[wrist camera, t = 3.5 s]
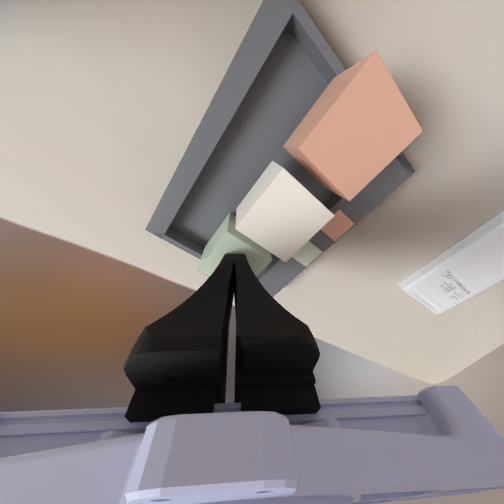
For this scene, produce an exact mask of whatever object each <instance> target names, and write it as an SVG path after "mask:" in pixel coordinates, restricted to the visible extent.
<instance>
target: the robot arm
mask: <svg viewBox="0 0 504 504" xmlns="http://www.w3.org/2000/svg"><path fill="white" fill-rule="evenodd" d="M233 296H234V297H235V312H236V362H235V401H234V403H225V397H226V375H227V356H228V336H229V323H230V316H231V309H232V303H233ZM319 356H320V352H319V349H318V346H317V343H316V341H315V339H314V337H313V335H312V333H311V331H310V329H309V327H308V326H307V325H306V324H304V323H303V322H302V321H300V320H299V319H297V318H296V317H294V316H293V315H292V314H290V313H289V312H288V311H287V310H285V309H284V308H283V307H282V306H281V305H280V304H279V303H278V302H277V301H276V300H275V299H274V298H273V297H272V296H271V295H270V294H269V293H268V292H267V291H266V289H265V288H264V287H263V286H262V284H261V283H260V281H259V280H258V279H257V277H256V276H255V274H254V272H253V270H252V269H251V267H250V265H249V263H248V261H247V258H246V255H245V254H225V255H224V256H223V258H222V260H221V261H220V263H219V265H218V266H217V268H216V269H215V270H214V272H213V273H212V274H211V276H210V277H209V278H208V279H207V280H206V282H205V283H204V284H203V285H202V286H201V287H200V288H199V289H198V290H197V291H196V292H195V293H194V294H193V295H192V296H190V297H189V298H188V299H187V300H186V301H185V302H183V303H182V304H181V305H179V306H178V307H177V308H176V309H174V310H173V311H171V312H170V313H168V314H167V315H165V316H164V317H162V318H160V319H159V320H157V321H155V322H154V323H152V324H150V325H148V326H147V327H145V329H144V330H143V332H142V333H141V335H140V336H139V338H138V339H137V341H136V343H135V344H134V346H133V348H132V350H131V352H130V354H129V356H128V358H127V360H126V362H125V364H124V371H125V373H126V376H127V377H128V379H129V380H130V382H131V383H132V385H133V386H134V388H135V389H136V390H135V392H134V395H133V397H132V399H131V402H130V404H129V407H122V408H100V409H99V408H98V409H76V410H50V411H25V412H1V411H0V504H375V503H383V502H393V501H403V500H411V499H422V498H431V497H441V496H451V495H461V494H472V493H481V492H488V491H493V490H500V489H504V439H503V437H502V436H501V435H500V434H499V433H498V432H497V431H496V430H495V428H494V427H493V426H492V425H491V424H490V423H489V422H488V420H487V419H486V418H485V417H484V416H483V415H482V413H481V412H480V411H479V410H478V409H477V408H476V407H475V405H474V404H473V403H472V402H471V401H470V400H469V399H468V397H467V396H466V395H465V394H464V393H463V392H462V391H461V390H460V389H459V387H458V386H455V385H453V386H432V387H427V388H425V389H423V390H421V391H420V392H419V393H418V394H417V395H413V396H389V397H366V398H340V399H318V396H317V393H316V389H315V386H314V384H315V377H314V374H313V369H314V367H315V365H316V363H317V361H318V359H319Z"/></svg>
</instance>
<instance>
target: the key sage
mask: <svg viewBox="0 0 504 504" xmlns="http://www.w3.org/2000/svg"><path fill="white" fill-rule="evenodd" d="M235 225H236V217H235V216H234V215H233V214H231V213H229V214H228V216H227V217H226V218H225V220H224V221H223V222H222V224H221V225H220V227H219V228H218V229H217V231H216V232H215V233H214V235H213V236H212V237H211V239H210V240H209V242H208V243H207V244H206V246H205V248H204V251H203V254H202V257H201V260H200V263H199V266H198V269H197V271H199V272H201V273H203V274H205V275H207V276H209V277H210V276H211V274H212V273H213V272H214V270H215V269H216V268H217V266H218V265H219V263H220V261H221V260H222V258H223V256H224V255H225V254H245V255H246V258H247V261H248V263H249V265H250V267H251V269H252V270H253V272H254V274H255V276H256V277H257V276H258V275H259V274H260V273H261V272H262V271H263V270H264V269H265V268H266V267H267V265H268V264H269V263H270V262H271V261H272V257H271V253H270V252H269V251H268V250H266V249H265V248H263V247H262V246H260V245H259V244H257V243H256V242H254V241H253V240H251V239H250V238H248V237H247V236H245V235H244V234H242V233H241V232H239V231H237V230H236V229H235Z"/></svg>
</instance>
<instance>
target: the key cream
mask: <svg viewBox="0 0 504 504" xmlns="http://www.w3.org/2000/svg"><path fill="white" fill-rule="evenodd" d="M334 216H335V215H334V214H332V213H331V212H330V211H329V210H328V209H327V208H326V207H325V206H324V205H323V204H322V203H321V202H320V201H318V200H317V199H316V198H315V197H314V196H313V195H312V194H311V193H310V192H309V191H308V190H307V189H306V188H304V187H303V186H302V185H301V184H300V183H299V182H298V181H297V180H296V179H295V178H294V177H293V176H292V175H291V174H289V173H288V172H287V171H286V170H285V169H284V168H283V167H281V166H280V165H278V164H277V163H275V162H274V161H272V162H271V163H270V164H269V166H268V167H267V168H266V170H265V171H264V172H263V174H262V175H261V176H260V178H259V179H258V180H257V182H256V183H255V184H254V186H253V187H252V188H251V190H250V191H249V192H248V194H247V195H246V196H245V198H244V199H243V200H242V202H241V203H240V204H239V206H238V207H237V209H236V225H235V229H236V230H237V231H239V232H241V233H242V234H244V235H245V236H247V237H248V238H250V239H251V240H253V241H254V242H256V243H257V244H259V245H260V246H262V247H263V248H265V249H266V250H268V251H269V252H271V253H272V254H274V255H275V256H277V257H278V258H280V259H281V260H283V261H284V262H287V261H288V260H289V259H290V258H291V257H292V256H293V255H294V254H295V253H296V252H297V251H298V250H299V249H300V248H301V247H302V246H303V245H304V244H305V243H307V242H308V241H309V240H310V239H311V238H312V237H313V236H314V235H315V234H316V233H317V232H318V231H319V230H320V229H321V228H322V227H323V226H324V225H325V224H326V223H327V222H328V221H330V220H331V219H332V218H333V217H334Z"/></svg>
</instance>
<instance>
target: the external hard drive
mask: <svg viewBox="0 0 504 504" xmlns="http://www.w3.org/2000/svg"><path fill="white" fill-rule="evenodd" d="M502 280H504V210H503V211H502V212H501V213H499V214H498V215H496V216H495V217H493V218H492V219H490V220H489V221H488V222H486V223H485V224H483V225H482V226H480V227H479V228H478V229H476V230H475V231H473V232H472V233H470V234H469V235H467V236H466V237H465V238H463V239H462V240H460V241H459V242H457V243H456V244H455V245H453V246H452V247H450V248H449V249H447V250H446V251H444V252H443V253H442V254H440V255H439V256H437V257H436V258H434V259H433V260H431V261H430V262H429V263H427V264H426V265H424V266H423V267H421V268H420V269H419V270H417V271H416V272H414V273H413V274H411V275H410V276H409V277H407V278H406V279H404V280H403V281H401V282H400V283H398V284H397V285H398V286H399V287H400V288H401V289H402V290H404V291H405V292H406V293H407V294H409V295H410V296H412V297H413V298H414V299H416V300H417V301H419V302H420V303H421V304H423V305H424V306H425V307H427V308H428V309H429V310H431V311H432V312H433V313H435V314H436V315H439V314H441V313H443V312H445V311H447V310H448V309H450V308H452V307H454V306H456V305H458V304H459V303H461V302H463V301H465V300H467V299H469V298H470V297H472V296H474V295H476V294H478V293H480V292H482V291H483V290H485V289H487V288H489V287H491V286H493V285H494V284H496V283H498V282H500V281H502Z"/></svg>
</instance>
